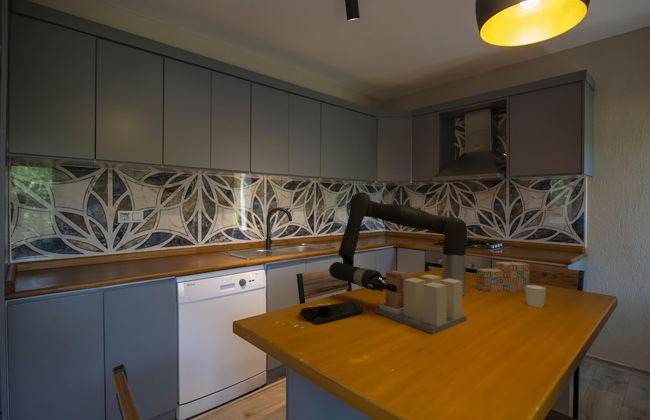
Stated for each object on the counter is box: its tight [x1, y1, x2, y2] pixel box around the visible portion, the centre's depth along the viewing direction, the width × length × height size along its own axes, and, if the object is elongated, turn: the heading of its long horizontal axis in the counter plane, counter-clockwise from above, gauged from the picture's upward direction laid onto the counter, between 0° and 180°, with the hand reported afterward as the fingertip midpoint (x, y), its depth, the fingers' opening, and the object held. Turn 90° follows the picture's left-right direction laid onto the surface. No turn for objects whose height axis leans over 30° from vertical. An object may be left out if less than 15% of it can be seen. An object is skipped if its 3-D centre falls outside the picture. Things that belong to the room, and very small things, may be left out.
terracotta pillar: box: [385, 270, 407, 309], centre depth 115 cm, size 5×5×12 cm
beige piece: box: [525, 284, 547, 308], centre depth 125 cm, size 7×7×7 cm
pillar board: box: [374, 274, 467, 335], centre depth 112 cm, size 19×24×14 cm
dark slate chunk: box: [298, 301, 364, 325], centre depth 115 cm, size 15×22×5 cm
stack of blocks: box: [476, 261, 531, 292], centre depth 148 cm, size 21×6×12 cm, turn 93°
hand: (401, 287), depth 113 cm, fingers closed on terracotta pillar, 5 cm apart
